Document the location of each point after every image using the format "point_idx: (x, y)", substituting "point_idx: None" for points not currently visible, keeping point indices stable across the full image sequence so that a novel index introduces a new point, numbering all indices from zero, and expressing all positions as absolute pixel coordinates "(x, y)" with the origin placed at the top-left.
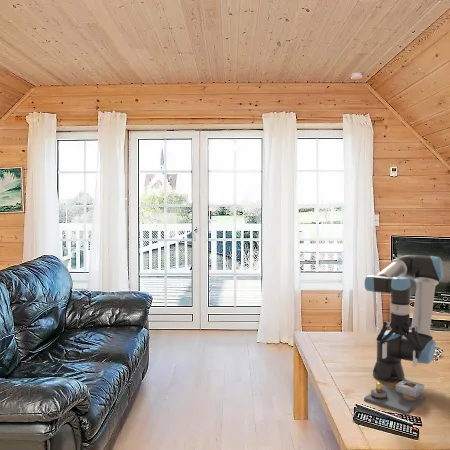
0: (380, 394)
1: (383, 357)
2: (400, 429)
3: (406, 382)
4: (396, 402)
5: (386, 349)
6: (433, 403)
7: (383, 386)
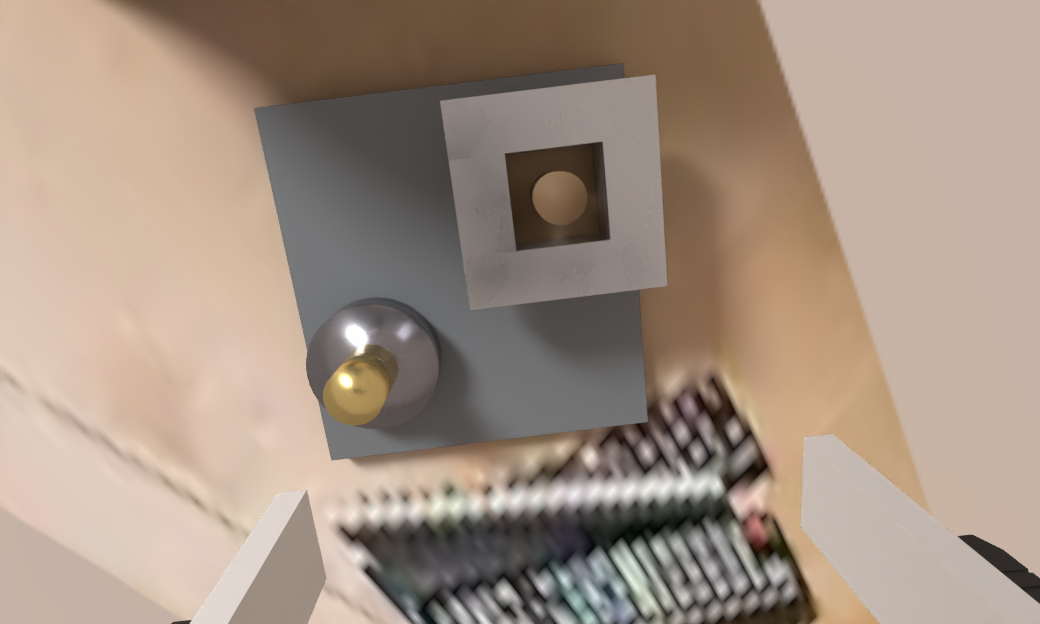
0: (411, 404)
1: (313, 591)
2: (707, 596)
3: (504, 171)
4: (526, 350)
5: (251, 607)
6: (688, 76)
7: (269, 145)
